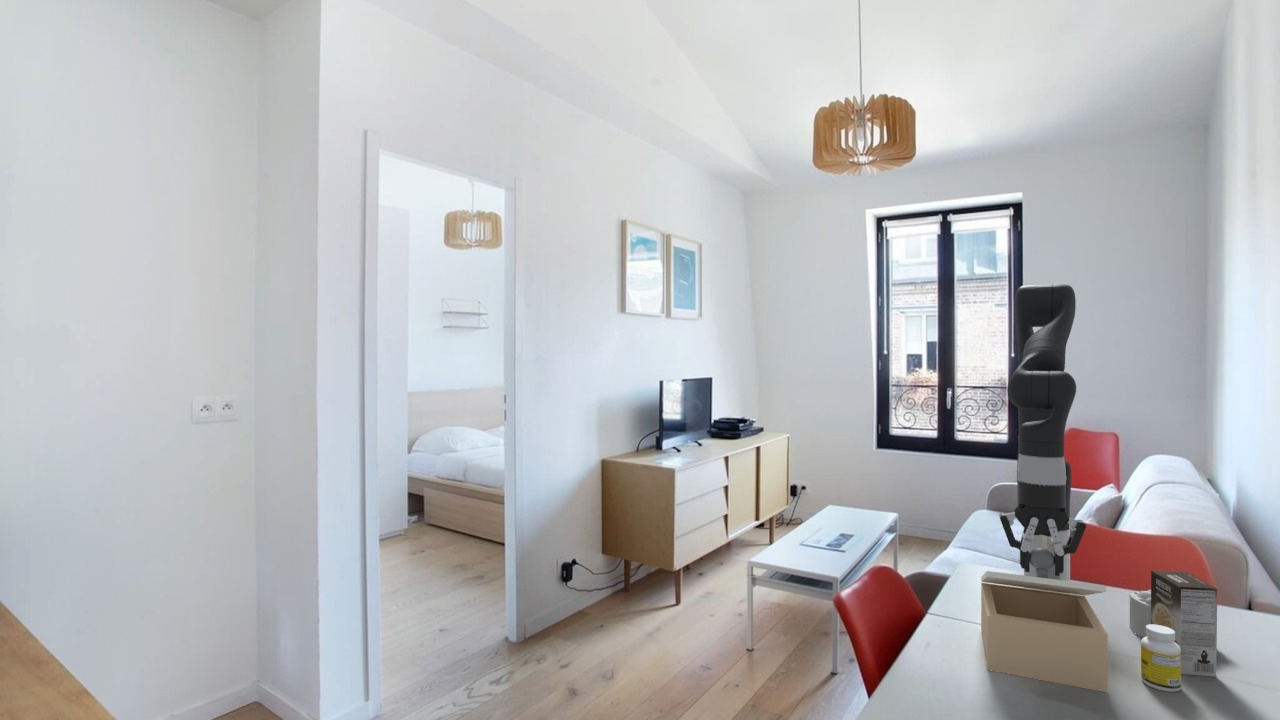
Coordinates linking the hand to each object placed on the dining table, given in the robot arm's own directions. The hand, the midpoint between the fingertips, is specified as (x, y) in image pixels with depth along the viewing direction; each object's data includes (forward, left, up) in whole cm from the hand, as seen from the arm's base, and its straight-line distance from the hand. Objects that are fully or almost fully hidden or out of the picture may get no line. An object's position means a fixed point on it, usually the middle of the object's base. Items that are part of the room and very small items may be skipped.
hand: (1041, 572), depth 117 cm
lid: (-5, 0, -4) cm, 6 cm away
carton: (-4, 0, -18) cm, 18 cm away
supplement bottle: (-2, +18, -18) cm, 25 cm away
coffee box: (-13, +24, -18) cm, 33 cm away
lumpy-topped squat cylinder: (-26, +25, -18) cm, 40 cm away
